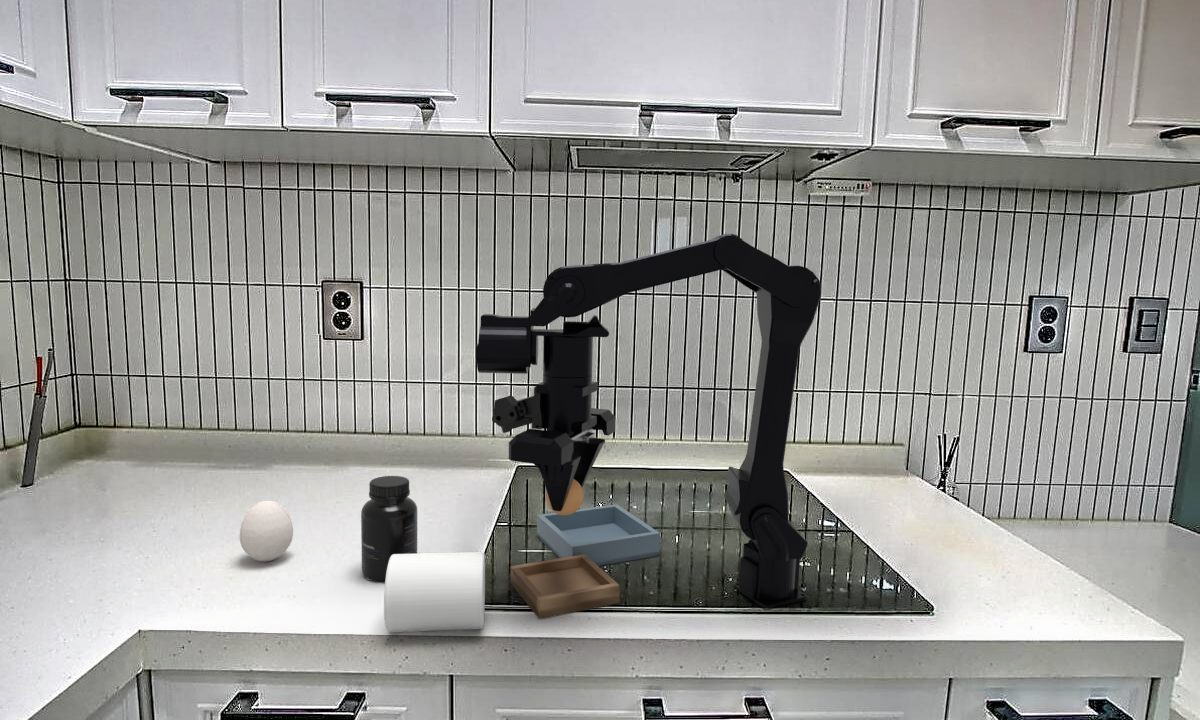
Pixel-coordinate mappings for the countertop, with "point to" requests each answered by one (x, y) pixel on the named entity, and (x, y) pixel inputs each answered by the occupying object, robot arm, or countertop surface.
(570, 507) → the ball
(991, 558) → the countertop surface
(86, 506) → the countertop surface
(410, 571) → the mug
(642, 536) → the dish
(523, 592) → the tray
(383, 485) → the supplement bottle
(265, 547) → the egg
